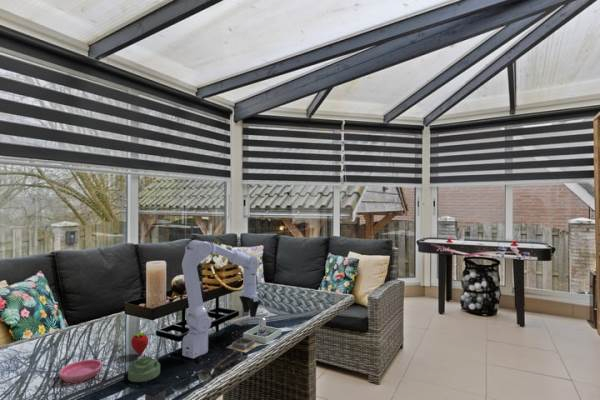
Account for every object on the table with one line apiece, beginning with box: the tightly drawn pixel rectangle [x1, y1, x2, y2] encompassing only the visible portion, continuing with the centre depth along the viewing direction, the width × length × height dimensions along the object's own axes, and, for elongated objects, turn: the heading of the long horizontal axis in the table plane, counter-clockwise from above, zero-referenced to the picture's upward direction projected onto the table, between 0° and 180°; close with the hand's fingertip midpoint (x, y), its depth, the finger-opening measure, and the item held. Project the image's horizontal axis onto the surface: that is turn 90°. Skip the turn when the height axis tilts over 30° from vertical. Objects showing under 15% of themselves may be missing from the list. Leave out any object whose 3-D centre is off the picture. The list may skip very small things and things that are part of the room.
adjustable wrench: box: [224, 310, 269, 326], centre depth 174 cm, size 25×6×2 cm, turn 128°
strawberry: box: [130, 329, 149, 356], centre depth 130 cm, size 6×8×10 cm
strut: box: [257, 316, 268, 337], centre depth 147 cm, size 4×4×8 cm
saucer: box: [58, 359, 103, 384], centre depth 114 cm, size 12×12×3 cm
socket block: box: [225, 336, 262, 353], centre depth 137 cm, size 10×10×2 cm
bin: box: [242, 324, 282, 344], centre depth 147 cm, size 12×12×3 cm
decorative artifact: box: [127, 353, 161, 383], centre depth 115 cm, size 10×7×10 cm
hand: (249, 314), depth 148 cm, fingers open, 7 cm apart
